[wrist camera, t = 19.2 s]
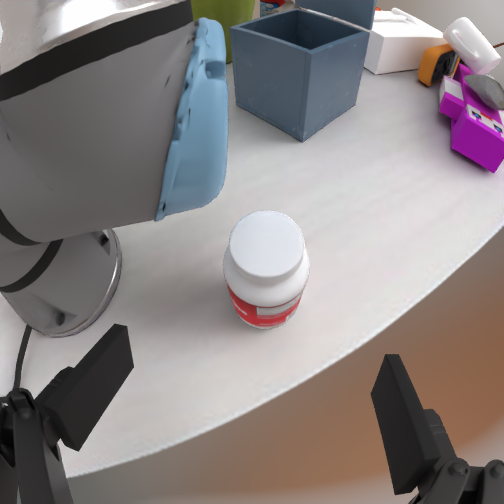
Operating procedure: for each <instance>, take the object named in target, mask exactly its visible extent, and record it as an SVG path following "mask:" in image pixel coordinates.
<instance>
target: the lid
mask: <svg viewBox="0 0 504 504" xmlns="http://www.w3.org/2000/svg"><path fill="white" fill-rule="evenodd" d="M376 2H377V0H295V6H298V7H302V8H306V9H309V10H313V11H316V12H319V13H323V14H326V15H329V16H332V17H335V18H338V19H341V20H344V21H347V22H350V23H352V24H355V25H358V26H360V27H363V28H365V29H368V30H371V29H372V26H373V20H374V14H375V8H376Z"/></svg>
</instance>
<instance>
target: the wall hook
mask: <svg viewBox="0 0 504 504" xmlns="http://www.w3.org/2000/svg"><path fill="white" fill-rule="evenodd" d="M284 1H286V2H285V3H284V4H283V5H282V6H280V7H278V8H276V9H273V10H272V11H273V13H274V14H275V13H279V12H282V11H286V10H290V9H295V8H298V9H301V8H299V7H298V6H295V3H294V2H293V1H291V0H284Z"/></svg>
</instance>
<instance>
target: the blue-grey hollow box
mask: <svg viewBox="0 0 504 504" xmlns="http://www.w3.org/2000/svg"><path fill="white" fill-rule="evenodd" d="M369 36H370V32H367V31H365V30H362V29H360V28H357V27H354V26H352V25H349V24H346V23H343V22H341V21H338V20H335V19H332V18H329V17H326V16H322V15H319V14H316V13H312V12H309V11H306V10H302V9H298V8H295V9H290V10H286V11H282V12H279V13H275V14H271V15H267V16H264V17H261V18H257V19H254V20H251V21H247V22H244V23H241V24H238V25H235V26H232V27H230V38H231V50H232V62H233V73H234V85H235V97H236V105H237V106H239V107H241V108H243V109H245V110H247V111H248V112H250V113H252V114H254V115H256V116H258V117H260V118H261V119H263V120H265V121H267V122H269V123H270V124H272V125H274V126H276V127H277V128H279V129H281V130H283V131H284V132H286V133H288V134H289V135H291V136H293V137H294V138H296V139H298V140H299V141H301V142H304V141H305V140H306V139H308V138H309V137H311V136H312V135H313V134H315V133H316V132H317V131H319V130H320V129H322V128H323V127H324V126H326V125H327V124H328V123H330V122H331V121H333V120H334V119H336V118H337V117H338V116H340V115H341V114H343V113H344V112H345V111H347V110H348V109H350V108H351V107H353V106H354V105H355V102H356V98H357V94H358V89H359V85H360V80H361V76H362V71H363V66H364V62H365V57H366V52H367V47H368V42H369Z"/></svg>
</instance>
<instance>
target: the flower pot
mask: <svg viewBox="0 0 504 504" xmlns="http://www.w3.org/2000/svg"><path fill="white" fill-rule="evenodd" d="M254 4H255V0H191V6H192V13H193V19H194V22H196V21H197V20H198V18H203V17H205V18H207V19H210V20H216V21H217V22H219V23H220V24H221V26H222V28H223V32H224V38H225V46H226V62H225V63H228V62H232V50H231V38H230V27H232V26H235V25H238V24H241V23H244V22H247V21H251V20H252V15H253V10H254Z"/></svg>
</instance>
